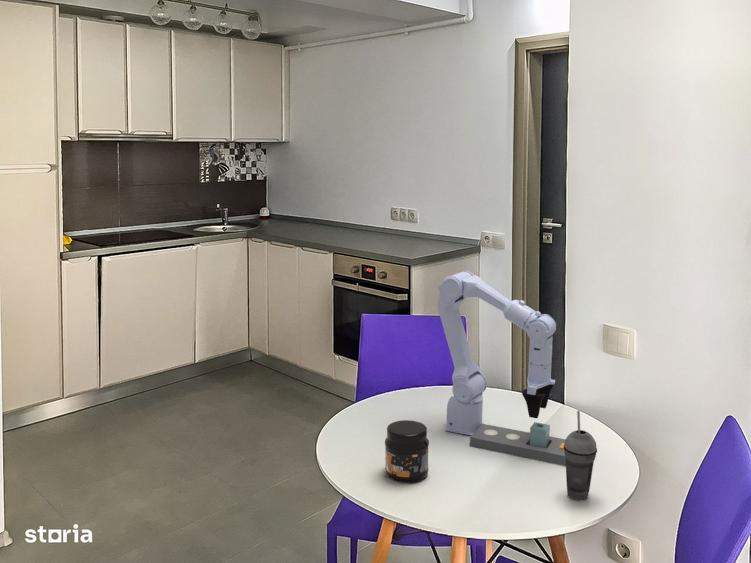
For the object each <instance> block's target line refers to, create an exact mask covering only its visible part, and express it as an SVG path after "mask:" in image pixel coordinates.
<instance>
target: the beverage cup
mask: <svg viewBox="0 0 751 563" xmlns="http://www.w3.org/2000/svg"><path fill="white" fill-rule="evenodd" d="M576 412H577V415H576V416H577V430H574V431H572V432H570V433H568V435H567V436H566V438H565V439H566V440H565V444H564V453H565V457H566V466H565V473H566V474H565V478H566V492H567V494H566V496H567V497H568V498H569V499H571V500H573V501H577V502H584V501H586V500H588V499H589V494H590V489H591V482H592V476H593V471H594V470H593V469H594V461H595V460H596V455H597V453H598V448H597V443H596V440H595V438H594V436H592V434H591V433H590V432H588V431H586V430H583V429H581V416H580V410H577V411H576Z"/></svg>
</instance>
